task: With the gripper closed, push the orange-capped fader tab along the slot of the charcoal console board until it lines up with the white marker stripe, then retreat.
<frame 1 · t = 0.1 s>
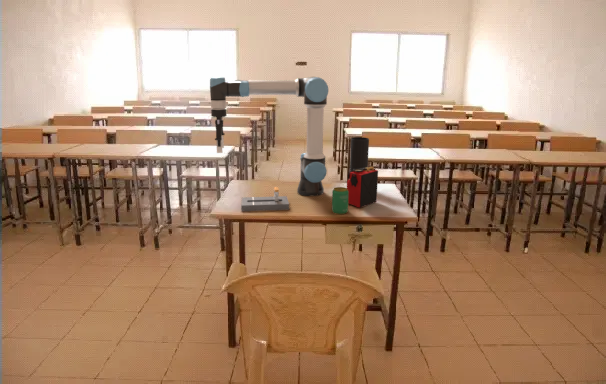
hand: (220, 150, 236), 28 cm above the table, fingers open, 13 cm apart
radio: (360, 203, 243), on the table
console: (264, 206, 237), on the table
fader: (276, 196, 237), point 5 cm above the table, slide at -6.0 cm
beverage can: (339, 212, 229), on the table
vase: (357, 189, 271), on the table
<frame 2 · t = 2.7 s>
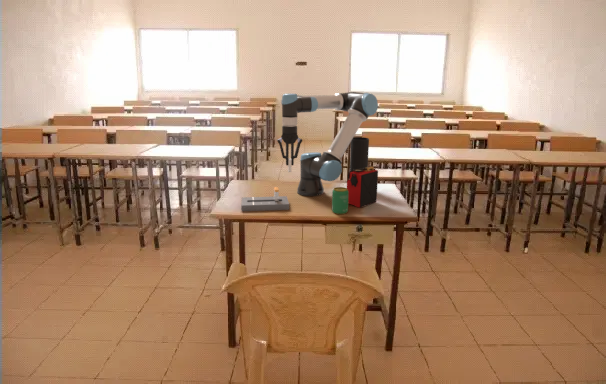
hand: (289, 171, 234), 18 cm above the table, fingers closed
nothing on the table moved.
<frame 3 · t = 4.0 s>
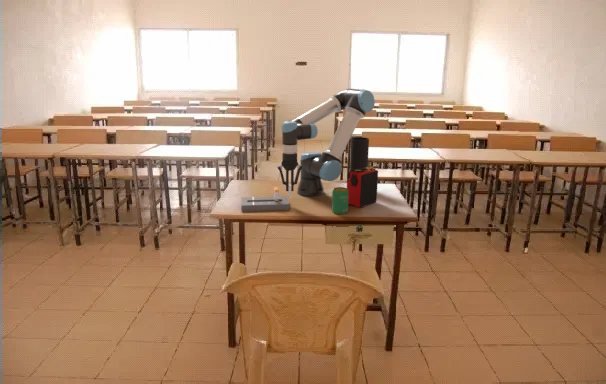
hand: (289, 197, 238), 5 cm above the table, fingers closed
nothing on the table moved.
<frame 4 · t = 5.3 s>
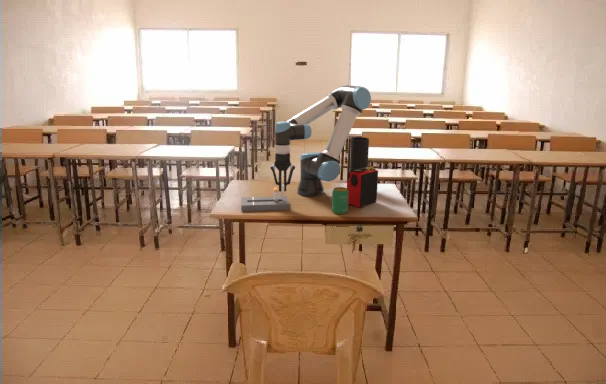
hand: (282, 197, 237), 5 cm above the table, fingers closed
fader: (276, 196, 237), point 5 cm above the table, slide at -5.9 cm, touching gripper
everything else where it was.
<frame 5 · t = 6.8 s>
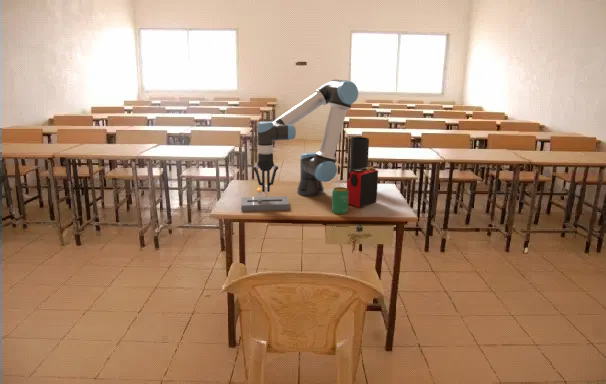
hand: (266, 197, 236), 5 cm above the table, fingers closed
fader: (259, 197, 236), point 5 cm above the table, slide at 2.7 cm, touching gripper
everything else where it was.
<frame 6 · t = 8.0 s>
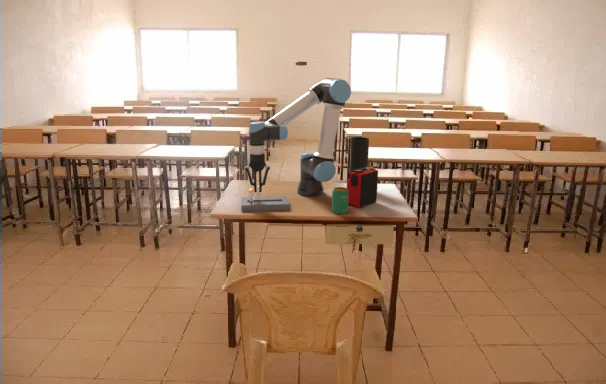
hand: (258, 198, 236), 4 cm above the table, fingers closed
fader: (251, 197, 235), point 5 cm above the table, slide at 6.9 cm, touching gripper
everything else where it was.
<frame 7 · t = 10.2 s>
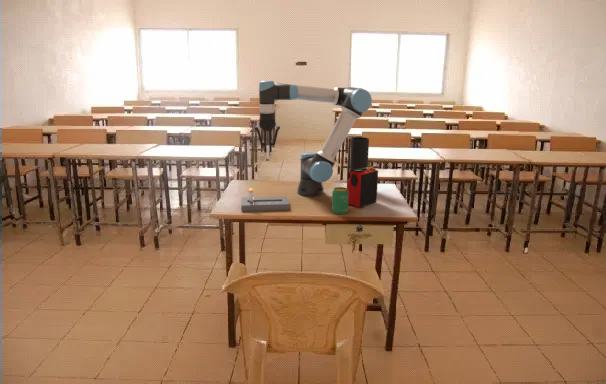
hand: (268, 158, 236), 24 cm above the table, fingers closed
fader: (251, 197, 235), point 5 cm above the table, slide at 6.9 cm
everything else where it was.
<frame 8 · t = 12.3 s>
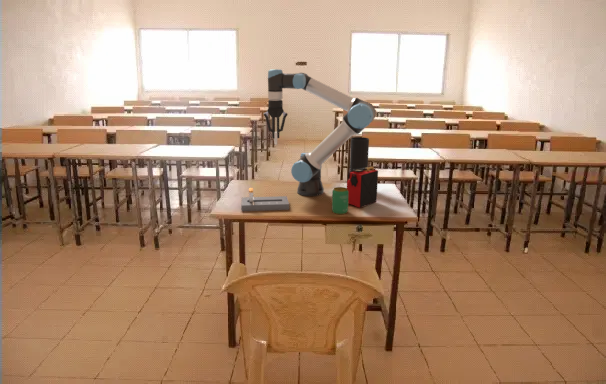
hand: (275, 144, 246), 29 cm above the table, fingers closed
nothing on the table moved.
at the end: fader slide at 6.9 cm; the gripper is holding nothing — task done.
